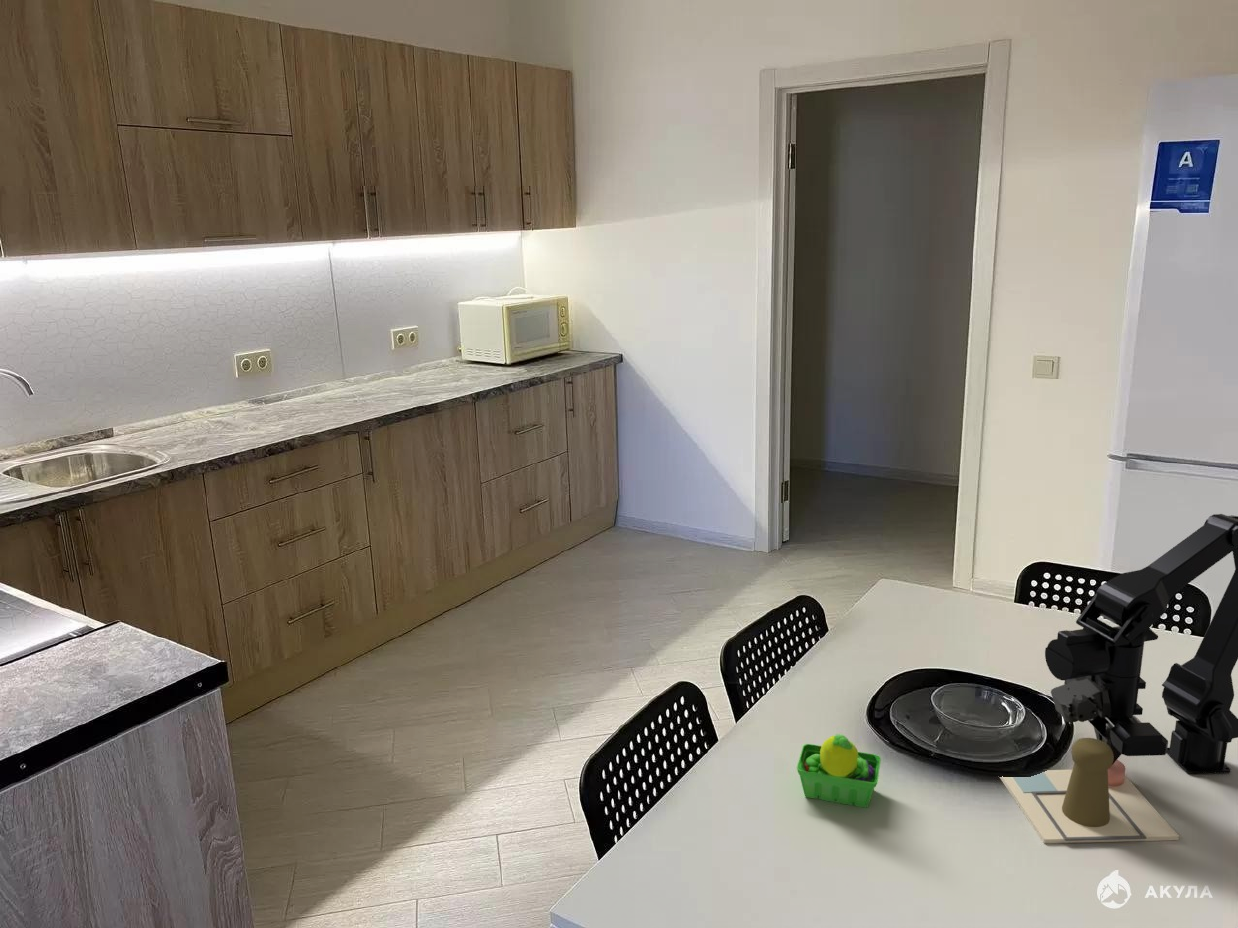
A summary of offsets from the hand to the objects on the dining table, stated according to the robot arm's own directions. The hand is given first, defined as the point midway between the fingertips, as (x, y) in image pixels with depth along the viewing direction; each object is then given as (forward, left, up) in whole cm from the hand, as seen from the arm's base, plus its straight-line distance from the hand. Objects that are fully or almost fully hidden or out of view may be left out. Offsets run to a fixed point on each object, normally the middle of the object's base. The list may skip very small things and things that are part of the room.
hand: (1106, 764), depth 140 cm
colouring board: (+6, +6, -3) cm, 9 cm away
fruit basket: (+40, +2, -3) cm, 40 cm away
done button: (0, 0, -2) cm, 2 cm away
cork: (+7, +9, -2) cm, 11 cm away
